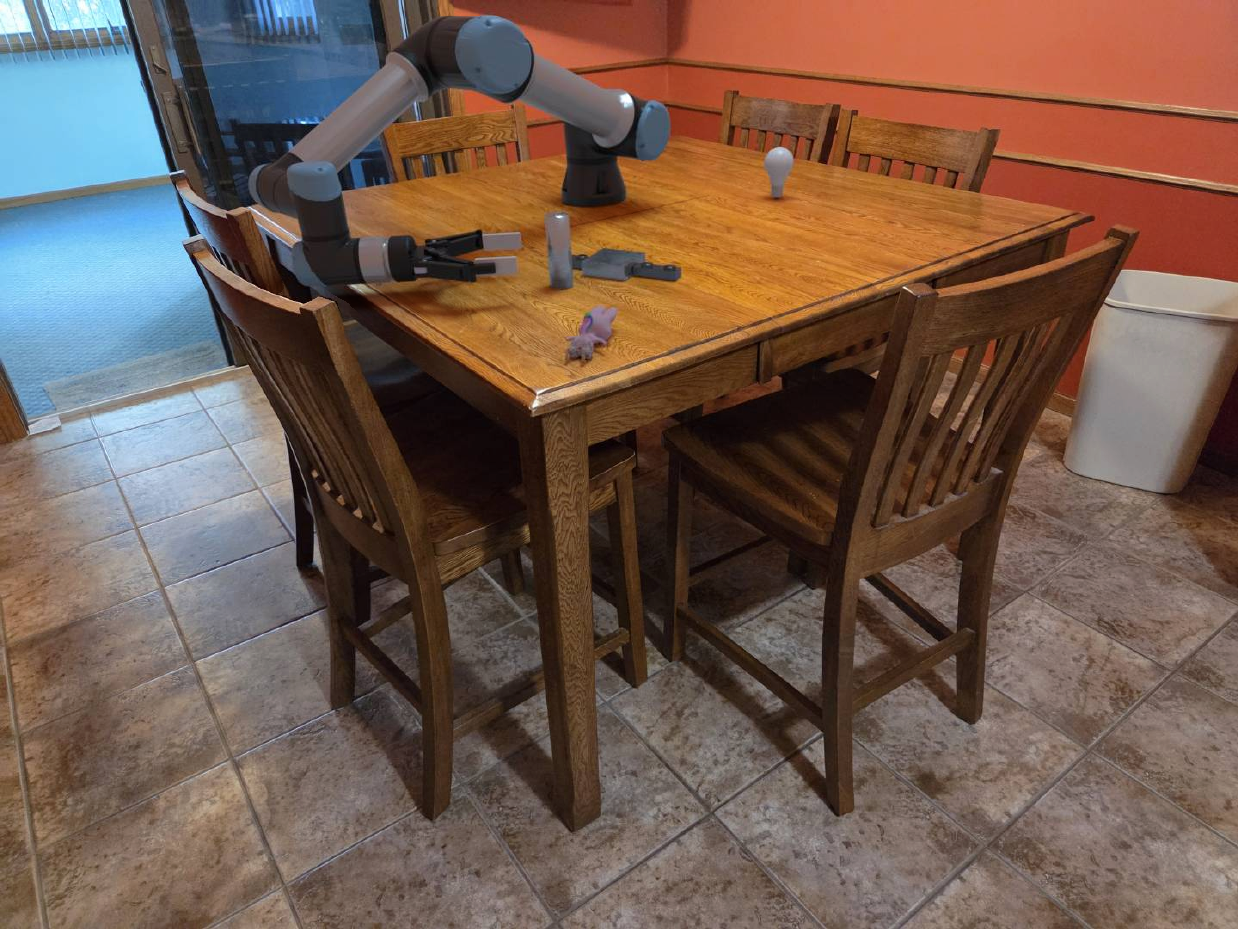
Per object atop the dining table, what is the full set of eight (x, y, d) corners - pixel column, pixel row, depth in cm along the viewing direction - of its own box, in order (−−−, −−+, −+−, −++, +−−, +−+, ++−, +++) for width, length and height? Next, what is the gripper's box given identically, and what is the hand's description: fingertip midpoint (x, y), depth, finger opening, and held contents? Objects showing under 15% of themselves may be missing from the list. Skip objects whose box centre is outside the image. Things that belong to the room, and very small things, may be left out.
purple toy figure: (597, 375, 112) (630, 319, 122) (592, 338, 108) (627, 283, 118) (555, 370, 114) (592, 315, 124) (549, 334, 110) (587, 280, 120)
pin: (546, 287, 139) (539, 216, 133) (557, 280, 142) (552, 210, 136) (566, 290, 137) (561, 218, 131) (577, 283, 140) (573, 212, 134)
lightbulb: (789, 194, 186) (793, 144, 181) (792, 201, 181) (795, 149, 175) (761, 195, 187) (764, 144, 181) (763, 202, 182) (766, 150, 176)
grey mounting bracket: (542, 270, 147) (541, 256, 146) (565, 256, 153) (564, 243, 152) (668, 286, 137) (668, 272, 136) (687, 271, 143) (687, 257, 142)
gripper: (407, 258, 148) (524, 251, 148) (381, 307, 126) (517, 299, 127) (400, 216, 144) (520, 210, 144) (371, 260, 123) (512, 252, 123)
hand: (519, 252), depth 136 cm, fingers open, 13 cm apart
